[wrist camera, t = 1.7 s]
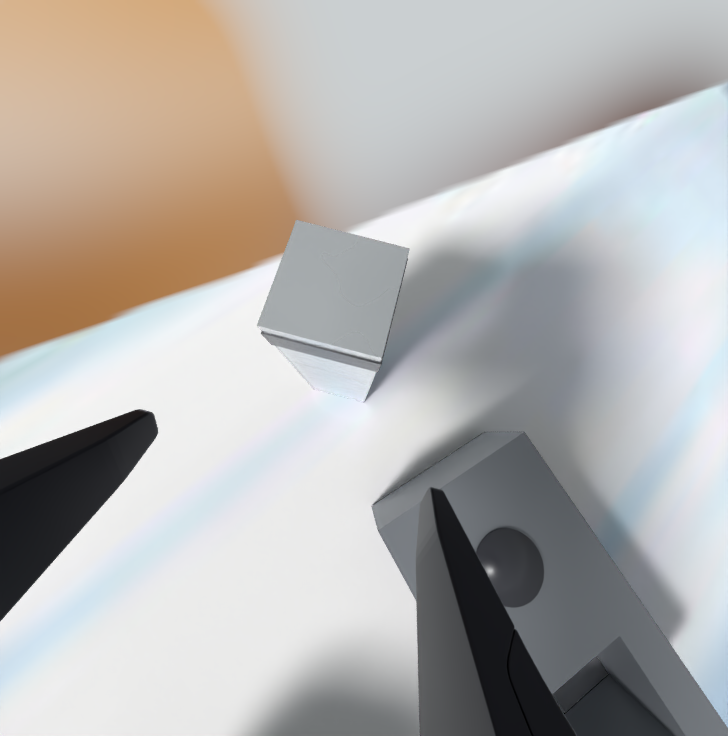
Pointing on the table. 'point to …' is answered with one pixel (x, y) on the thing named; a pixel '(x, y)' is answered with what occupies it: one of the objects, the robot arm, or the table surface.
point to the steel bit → (334, 307)
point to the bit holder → (555, 588)
